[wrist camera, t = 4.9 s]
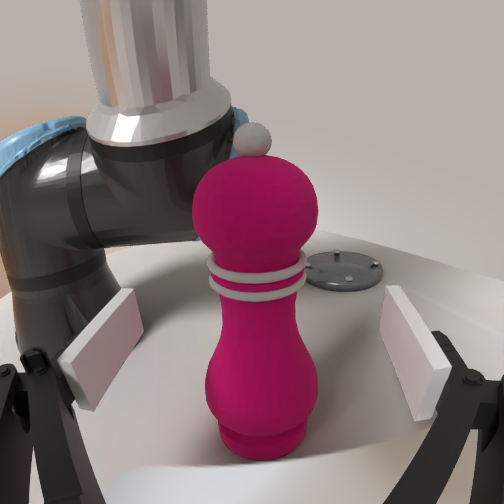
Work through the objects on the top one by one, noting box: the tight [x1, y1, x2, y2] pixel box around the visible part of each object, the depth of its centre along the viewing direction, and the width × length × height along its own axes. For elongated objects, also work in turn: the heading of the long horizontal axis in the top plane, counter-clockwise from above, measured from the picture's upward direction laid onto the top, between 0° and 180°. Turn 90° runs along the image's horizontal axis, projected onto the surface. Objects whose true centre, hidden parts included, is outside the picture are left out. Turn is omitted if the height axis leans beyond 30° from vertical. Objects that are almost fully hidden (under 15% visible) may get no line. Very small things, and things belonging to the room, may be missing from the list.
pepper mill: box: [192, 122, 318, 460], centre depth 18 cm, size 7×7×20 cm
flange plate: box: [304, 250, 383, 292], centre depth 46 cm, size 12×12×2 cm
